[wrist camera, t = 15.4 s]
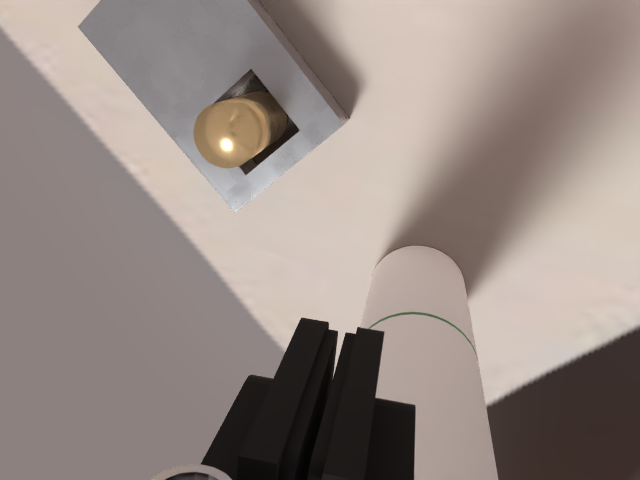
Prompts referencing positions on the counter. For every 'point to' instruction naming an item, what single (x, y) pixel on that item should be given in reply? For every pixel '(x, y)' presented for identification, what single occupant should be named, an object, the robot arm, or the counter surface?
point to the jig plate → (213, 76)
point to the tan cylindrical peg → (238, 128)
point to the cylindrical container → (431, 361)
